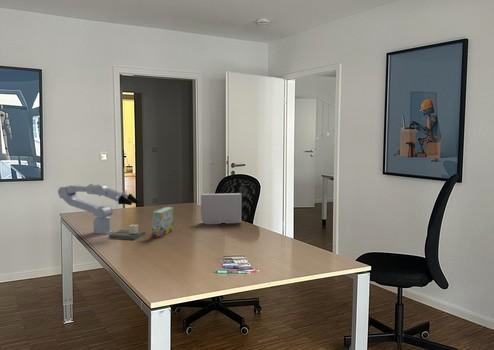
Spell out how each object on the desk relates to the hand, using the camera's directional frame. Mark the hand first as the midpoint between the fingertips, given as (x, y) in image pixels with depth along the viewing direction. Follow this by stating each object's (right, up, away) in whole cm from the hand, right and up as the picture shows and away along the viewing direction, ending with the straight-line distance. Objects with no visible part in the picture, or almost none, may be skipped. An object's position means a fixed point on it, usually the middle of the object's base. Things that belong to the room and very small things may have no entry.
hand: (134, 202), depth 277 cm
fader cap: (0, -17, -3) cm, 18 cm away
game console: (+49, -16, +42) cm, 67 cm away
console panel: (-4, -20, -1) cm, 20 cm away
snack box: (+15, -19, +6) cm, 26 cm away
